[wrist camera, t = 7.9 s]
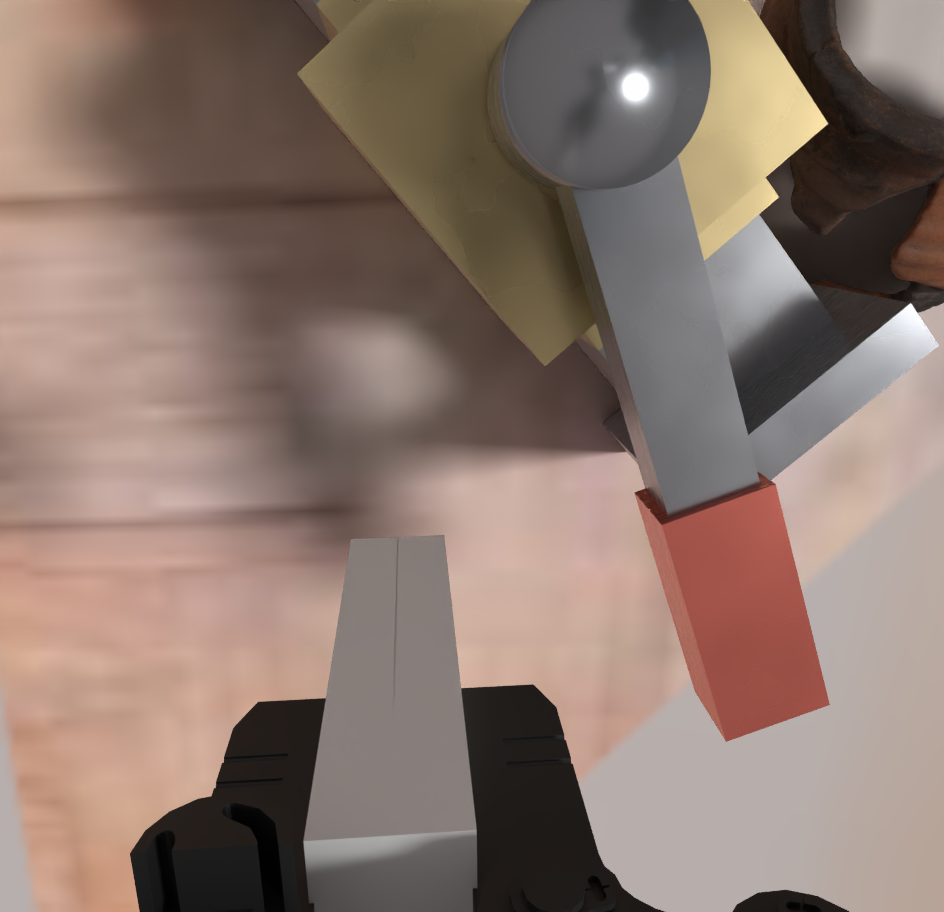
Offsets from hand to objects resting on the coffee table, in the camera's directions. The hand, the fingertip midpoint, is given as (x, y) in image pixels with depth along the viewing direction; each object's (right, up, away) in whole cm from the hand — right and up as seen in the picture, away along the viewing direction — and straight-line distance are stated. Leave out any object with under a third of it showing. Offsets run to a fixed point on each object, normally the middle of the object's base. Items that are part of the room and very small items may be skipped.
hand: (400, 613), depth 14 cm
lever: (+5, +4, +3) cm, 7 cm away
